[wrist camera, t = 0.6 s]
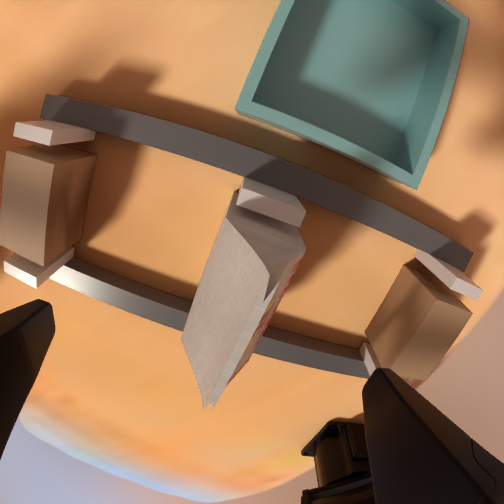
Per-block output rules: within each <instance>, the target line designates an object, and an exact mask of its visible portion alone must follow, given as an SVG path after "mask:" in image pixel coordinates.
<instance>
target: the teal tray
mask: <svg viewBox="0 0 504 504" xmlns="http://www.w3.org/2000/svg"><path fill="white" fill-rule="evenodd" d="M468 22H469V19H468V18H467V17H465V16H464V15H463V14H462V13H460V12H459V11H458V10H457V9H455V8H454V7H453V6H451V5H450V4H449V3H447V2H446V1H444V0H281V2H280V4H279V6H278V8H277V10H276V12H275V15H274V17H273V19H272V21H271V23H270V26H269V28H268V30H267V32H266V34H265V37H264V39H263V41H262V44H261V46H260V48H259V50H258V53H257V55H256V57H255V60H254V62H253V65H252V67H251V69H250V72H249V74H248V77H247V79H246V82H245V84H244V86H243V89H242V91H241V94H240V96H239V99H238V102H237V104H236V107H235V110H236V112H237V113H238V114H240V115H243V116H245V117H248V118H251V119H254V120H257V121H260V122H262V123H265V124H268V125H271V126H273V127H276V128H278V129H281V130H284V131H286V132H289V133H291V134H294V135H296V136H299V137H301V138H304V139H306V140H308V141H311V142H313V143H316V144H318V145H320V146H322V147H325V148H327V149H329V150H332V151H334V152H336V153H338V154H340V155H343V156H345V157H347V158H349V159H351V160H353V161H355V162H357V163H359V164H361V165H364V166H366V167H368V168H370V169H372V170H374V171H376V172H378V173H380V174H381V175H383V176H385V177H387V178H389V179H391V180H394V181H396V182H399V183H401V184H404V185H406V186H409V187H411V188H414V189H416V190H417V188H418V186H419V183H420V181H421V179H422V176H423V174H424V171H425V169H426V166H427V163H428V161H429V158H430V156H431V153H432V150H433V148H434V145H435V142H436V139H437V137H438V134H439V131H440V128H441V125H442V122H443V119H444V116H445V113H446V110H447V106H448V103H449V100H450V97H451V93H452V90H453V86H454V83H455V79H456V75H457V72H458V68H459V64H460V60H461V55H462V51H463V47H464V42H465V37H466V33H467V27H468Z"/></svg>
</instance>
